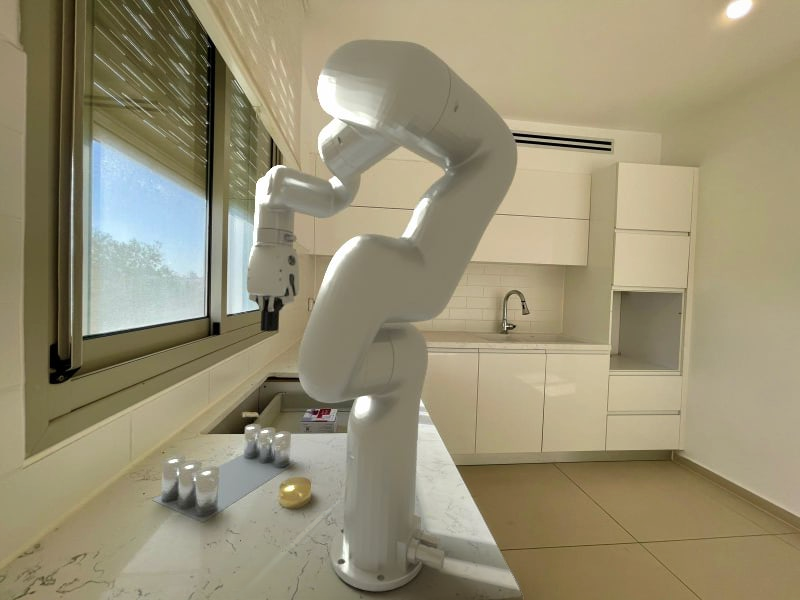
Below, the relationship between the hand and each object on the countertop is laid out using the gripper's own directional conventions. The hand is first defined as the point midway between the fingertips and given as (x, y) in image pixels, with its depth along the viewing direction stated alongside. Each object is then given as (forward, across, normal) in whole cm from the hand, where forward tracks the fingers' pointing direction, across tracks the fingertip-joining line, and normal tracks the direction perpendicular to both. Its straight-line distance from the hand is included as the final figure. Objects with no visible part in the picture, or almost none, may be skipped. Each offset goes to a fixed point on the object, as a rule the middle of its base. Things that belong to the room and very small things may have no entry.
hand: (269, 330), depth 68 cm
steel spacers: (+27, -1, +9) cm, 28 cm away
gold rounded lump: (+27, -15, +8) cm, 32 cm away
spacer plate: (+27, -1, +9) cm, 28 cm away
